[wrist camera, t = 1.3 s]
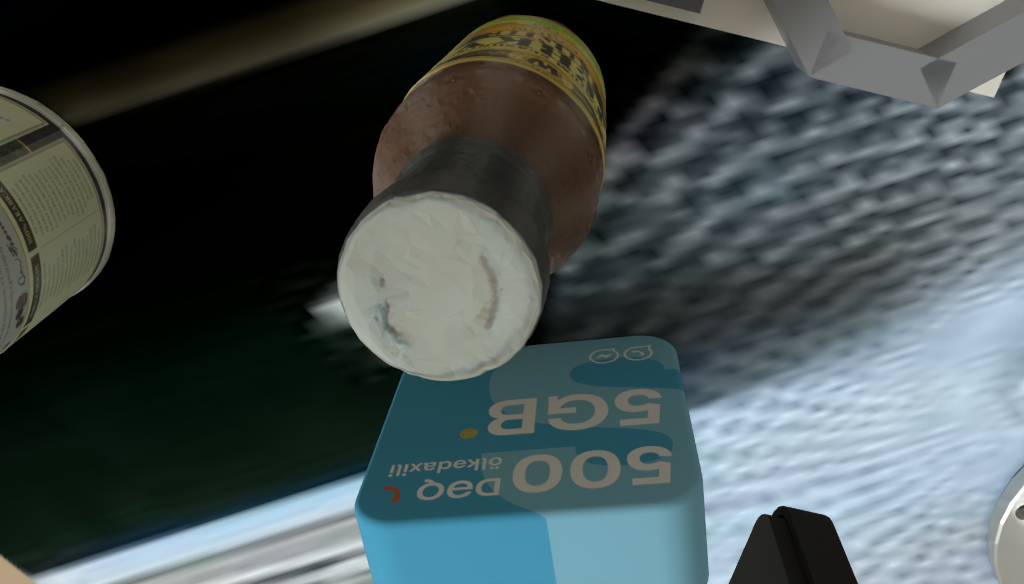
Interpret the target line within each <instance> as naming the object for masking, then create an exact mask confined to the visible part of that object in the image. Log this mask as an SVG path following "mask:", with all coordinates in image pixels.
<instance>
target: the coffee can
mask: <svg viewBox="0 0 1024 584" xmlns="http://www.w3.org/2000/svg"><path fill="white" fill-rule="evenodd" d="M114 236H115V211H114V204H113V199H112V195H111V191H110V189H109V186H108V183H107V180H106V177H105V174H104V172H103V171H102V169H101V168H100V166H99V164H98V162H97V161H96V159H95V157H94V155H93V153H92V152H91V151H90V149H89V148H88V147H87V145H86V144H85V142H84V141H83V140H82V138H81V137H80V136H79V135H78V134H77V133H76V132H75V131H74V130H73V129H72V128H71V127H70V126H69V125H68V124H67V123H66V122H65V121H64V120H63V119H62V118H61V117H59V116H58V115H57V114H55V113H54V112H53V111H51V110H50V109H49V108H47V107H46V106H44V105H43V104H41V103H40V102H38V101H36V100H34V99H32V98H30V97H28V96H25V95H23V94H21V93H18V92H16V91H14V90H11V89H8V88H4V87H1V86H0V354H1V353H2V352H4V351H5V350H6V349H7V348H8V347H10V346H11V345H12V344H13V343H14V342H16V341H17V340H18V339H19V338H21V337H22V336H23V335H24V334H25V333H27V332H28V331H29V330H30V329H32V328H33V327H34V326H35V325H37V324H38V323H39V322H40V321H41V320H43V319H44V318H45V317H46V316H48V315H49V314H50V313H51V312H53V311H54V310H55V309H56V308H57V307H59V306H60V305H61V304H62V303H63V302H65V301H66V300H67V299H68V298H70V297H71V296H73V295H75V294H76V293H78V292H80V291H81V290H82V289H84V288H85V287H86V286H88V285H89V284H90V283H91V282H92V281H93V280H94V279H95V278H96V277H97V275H98V274H99V273H100V272H101V270H102V269H103V267H104V266H105V264H106V263H107V261H108V258H109V255H110V252H111V248H112V244H113V241H114Z"/></svg>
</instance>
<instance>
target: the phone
mask: <svg viewBox="0 0 1024 584" xmlns="http://www.w3.org/2000/svg"><path fill="white" fill-rule="evenodd" d="M647 1H651V2H655V3H659V4H663V5H667V6H671V7H675V8H679V9H683V10H687V11H691V12H695V13H700V12H701V9H702V5H703V2H704V0H647Z"/></svg>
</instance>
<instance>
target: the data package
mask: <svg viewBox="0 0 1024 584" xmlns="http://www.w3.org/2000/svg"><path fill="white" fill-rule="evenodd" d="M355 514H356V518H357V522H358V526H359V529H360V533H361V537H362V541H363V544H364V548H365V552H366V556H367V559H368V563H369V567H370V571H371V575H372V578H373V582H374V584H707V582H708V576H709V571H708V555H707V539H706V524H705V508H704V493H703V479H702V473H701V468H700V463H699V458H698V454H697V449H696V444H695V439H694V434H693V429H692V425H691V420H690V415H689V410H688V405H687V400H686V396H685V391H684V386H683V381H682V376H681V371H680V367H679V362H678V357H677V353H676V350H675V348H674V347H673V346H672V345H671V344H670V343H669V342H667V341H665V340H663V339H660V338H657V337H652V336H628V337H617V338H606V339H595V340H584V341H573V342H562V343H551V344H541V345H530V346H525V347H524V348H522V349H521V350H520V351H519V352H517V353H516V354H515V355H514V356H513V357H512V358H511V359H510V360H509V361H508V362H506V363H505V364H503V365H501V366H500V367H497V368H494V369H491V370H489V371H487V372H485V373H484V374H482V375H480V376H476V377H472V378H468V379H462V380H454V381H439V380H430V379H426V378H423V377H420V376H416V375H410V374H408V373H406V372H404V373H403V375H402V377H401V380H400V383H399V386H398V388H397V391H396V394H395V396H394V399H393V402H392V404H391V407H390V410H389V412H388V415H387V418H386V421H385V423H384V426H383V429H382V431H381V434H380V437H379V439H378V442H377V445H376V447H375V450H374V453H373V456H372V458H371V461H370V464H369V466H368V469H367V472H366V474H365V477H364V480H363V482H362V485H361V488H360V491H359V493H358V496H357V499H356V502H355Z"/></svg>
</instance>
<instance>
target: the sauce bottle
mask: <svg viewBox="0 0 1024 584" xmlns="http://www.w3.org/2000/svg"><path fill="white" fill-rule="evenodd" d="M605 148H606V94H605V85H604V80H603V77H602V73H601V70H600V67H599V65H598V63H597V61H596V59H595V58H594V56H593V54H592V53H591V51H590V50H589V49H588V47H587V46H586V45H585V43H584V42H583V41H582V40H581V39H580V38H579V37H578V36H576V35H575V34H574V33H573V32H572V31H571V30H570V29H569V28H567V27H566V26H565V25H564V24H562V23H560V22H557V21H555V20H551V19H548V18H542V17H537V16H526V15H507V16H503V17H500V18H498V19H496V20H493V21H490V22H488V23H486V24H484V25H482V26H480V27H479V28H477V29H476V30H474V31H473V32H471V33H470V34H469V35H468V36H467V37H466V38H465V39H464V40H462V41H461V42H460V43H459V44H458V45H457V46H456V47H455V48H454V49H453V50H452V51H451V52H450V53H449V54H448V55H446V56H445V57H444V58H443V59H442V60H441V61H440V62H439V63H438V64H436V65H435V66H434V67H433V68H432V69H431V70H430V71H429V72H428V73H427V74H426V75H425V76H424V77H423V78H422V79H420V80H419V81H418V82H417V83H416V84H415V85H414V86H413V87H412V88H411V90H410V91H409V92H408V94H407V95H406V97H405V99H404V100H403V102H402V103H401V104H400V105H399V106H398V108H397V110H396V111H395V113H394V114H393V115H392V117H391V118H390V120H389V122H388V124H386V125H385V127H384V129H383V131H382V133H381V136H380V139H379V143H378V146H377V150H376V155H375V160H374V168H373V191H374V194H373V195H374V198H373V200H372V201H371V202H370V203H369V204H368V206H367V207H366V208H365V209H364V210H363V212H362V213H361V214H360V216H359V217H358V219H357V220H356V221H355V223H354V225H353V226H352V228H351V229H350V231H349V233H348V234H347V236H346V239H345V241H344V244H343V247H342V250H341V252H340V255H339V262H338V270H337V288H338V292H339V296H340V300H341V304H342V306H343V309H344V311H345V315H346V318H347V320H348V322H349V323H350V325H351V327H352V328H353V329H354V331H355V332H356V334H357V336H358V338H359V339H360V340H361V341H362V342H363V343H364V344H365V345H366V346H367V347H368V348H369V349H370V350H371V351H372V352H373V353H374V354H375V355H377V356H378V357H379V358H381V359H382V360H383V361H385V362H386V363H388V364H389V365H391V366H393V367H396V368H398V369H401V370H403V371H405V372H406V373H408V374H410V375H416V376H420V377H423V378H426V379H430V380H439V381H454V380H462V379H468V378H472V377H476V376H480V375H482V374H484V373H485V372H487V371H489V370H491V369H494V368H497V367H500V366H501V365H503V364H505V363H506V362H508V361H509V360H510V359H511V358H512V357H513V356H514V355H515V354H516V353H517V352H519V351H520V350H521V349H522V348H524V347H525V345H526V343H527V341H528V339H529V338H530V337H531V336H532V335H533V333H534V331H535V329H536V326H537V324H538V322H539V320H540V317H541V314H542V311H543V307H544V304H545V301H546V296H547V293H548V289H549V285H550V274H552V273H553V272H554V271H556V269H557V268H558V267H560V266H562V264H563V263H564V262H566V261H567V260H568V258H569V257H570V256H571V255H572V254H573V253H575V252H576V250H577V249H578V247H579V246H580V245H581V244H582V242H583V241H584V240H585V238H586V237H587V236H588V234H589V232H590V230H591V225H592V222H593V220H594V217H595V215H596V208H597V204H598V202H599V200H598V197H599V192H600V189H601V187H602V184H603V179H604V167H605Z"/></svg>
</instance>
